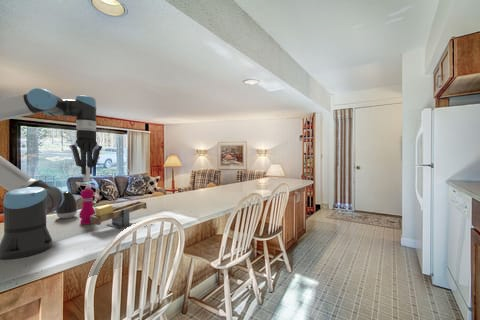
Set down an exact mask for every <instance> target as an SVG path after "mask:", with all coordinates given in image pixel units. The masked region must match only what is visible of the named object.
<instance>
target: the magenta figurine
mask: <svg viewBox="0 0 480 320" xmlns="http://www.w3.org/2000/svg"><path fill="white" fill-rule="evenodd" d="M94 195H95V191H94V190H93V189H92V188H90V186H89V185H87V186H85V188H84V189H83V190H82V191H80V196H81V202H82V207H81V209H80V212H79V215H78V217H79V218H80V225H82V226H83V225H91V224H92V223H91V221H90V216H91V215H94V214H96V211H95V208H94V206H93V201H94Z"/></svg>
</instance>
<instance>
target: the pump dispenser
mask: <svg viewBox="0 0 480 320" xmlns="http://www.w3.org/2000/svg"><path fill="white" fill-rule="evenodd" d="M63 195H64V200H63V203H62V205H61V206H60V207H59V208H58V209H57V210H55V214H56V216H57V217H58V218H59V219H64V220H65V219H71V218H73V217H75V216H76V215H77V212H78V203H77V200H76V198H75V196H74V194H73V193H72V192H71V191H64V192H63Z"/></svg>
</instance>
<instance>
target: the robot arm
mask: <svg viewBox="0 0 480 320" xmlns="http://www.w3.org/2000/svg"><path fill="white" fill-rule="evenodd" d="M39 113H40V114H41V113H43V114H44V115H45V116H52V117H73V118H75V120H76V122H75V123H76V128H75V129H76V134H75V135H76V136H75V137H76V140H75V143H73V144H70V145H69V148H70V149H71V152H72V154H73V160H74V161H75V165H76V167H79V168H80V170H81V171H80V172H81V175H83V183H90V182H91V175H92V174H93V168H94V167H96V166H97V165H98V160H99V156H100V153H101V150H102V149H103V146H102V145H99V144H98V142H97V101H96V99H95V98H94V97H93V96H91V95H90V96H89V95H85V94H84V95H83V94H82V95H76V96H75V99H65V98H61V97H60V96H58V95H56V94H54V93H53V92H52V91H50V90H48V89H45V88H41V87H35V88H33V89H31V90H29V91H28V92H27V93H24V94H18V95H14V96H13V95H12V96H6V97H2V98H0V122H2V121H8V120H10V119H15V118H16V119H17V118H21V117H26V116H30V115H35V114H39ZM78 148H79V150H80V151H79V150H78ZM93 152H94V153H93ZM0 187H2V188H3V189H5V190H6V191H8V192H6V193H5V194H4V196H3V202H2V205H3V236H2V238H1V241H0V259H1V260H12V259H20V258H25V257H30V256H33V255H37V254H40V253H43V252H45V251H47V250H49V249H50V248H52V247H53V238H52V236H51V234H50V232H49V230H48V228H47V215H48V214H49V215H50V214H51V213H53V212H56V210H57V209H58V208H59V207H60V206H61V205H62V203H63V200H64V195H63V193H64V192H63V191H62V190H61V189H60V188H59V187H57V186H54V185H49V184H48V183H46V182H45V181H43V180H42V179H39V178H37V179H34V178H33V177H31V176H29V174H27V173H25V172H24V171H23V170H21V169H20V168H18V167H17V166H15V165H14V164H13V163H11V162H10V161H8V160H7V159H6V158H4V157H3V156H1V155H0Z"/></svg>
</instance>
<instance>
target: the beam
mask: <svg viewBox="0 0 480 320" xmlns="http://www.w3.org/2000/svg"><path fill="white" fill-rule="evenodd" d="M116 207H117V206H116ZM147 208H148V207H147V202H145V201H140V200H139V201H135V202H134V201H133V202H131V203H127V204H125V205H121V206H118V207H117V208H114V209H113V212H112V213H109V214H106V215H103V216H99V217H97V216H96V213H95V214H94V215H91V216H90V221H91V224H94V225H97V226H100V225H101V224H102V223H103V222H106V221H108V220H112V218H115V217H118V216H121V215H122V210H123V209H129V214H130V213H132V212H135V211H138V210H139V211H140V210H142V209H144V210H147Z"/></svg>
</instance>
